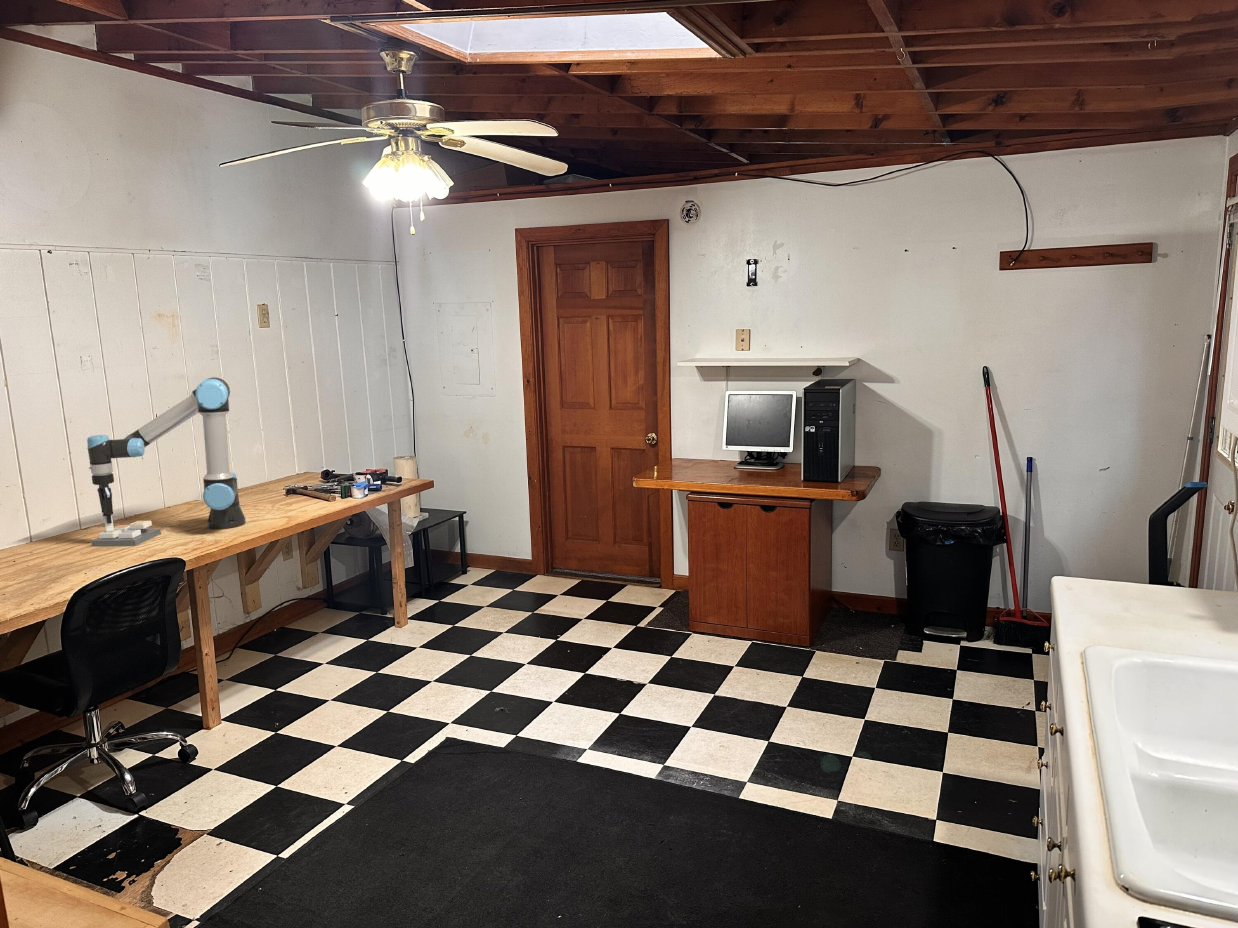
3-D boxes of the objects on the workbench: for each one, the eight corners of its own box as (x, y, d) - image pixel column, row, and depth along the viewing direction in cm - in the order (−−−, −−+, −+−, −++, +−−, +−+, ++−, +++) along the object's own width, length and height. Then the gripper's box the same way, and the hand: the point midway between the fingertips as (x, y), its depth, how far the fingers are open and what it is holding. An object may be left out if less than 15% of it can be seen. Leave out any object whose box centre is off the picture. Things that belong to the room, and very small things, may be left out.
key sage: (122, 539, 353) (121, 529, 352) (114, 543, 348) (112, 532, 347) (109, 539, 354) (107, 529, 353) (100, 543, 348) (98, 533, 347)
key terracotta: (134, 534, 361) (133, 524, 360) (126, 537, 355) (124, 527, 355) (121, 534, 361) (119, 524, 361) (112, 537, 356) (111, 528, 355)
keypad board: (160, 533, 363) (160, 528, 362) (135, 545, 345) (134, 540, 345) (119, 534, 364) (118, 528, 363) (92, 546, 346) (91, 540, 346)
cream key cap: (152, 529, 360) (151, 520, 360) (144, 533, 355) (143, 523, 354) (139, 529, 361) (137, 520, 360) (130, 533, 355) (129, 523, 354)
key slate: (141, 539, 353) (140, 529, 352) (133, 542, 347) (132, 532, 346) (128, 539, 353) (126, 529, 352) (119, 543, 347) (118, 533, 347)
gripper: (87, 473, 348) (95, 529, 352) (95, 477, 338) (103, 535, 342) (108, 470, 353) (116, 526, 357) (116, 474, 343) (124, 531, 347)
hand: (109, 530), depth 350 cm, fingers closed
